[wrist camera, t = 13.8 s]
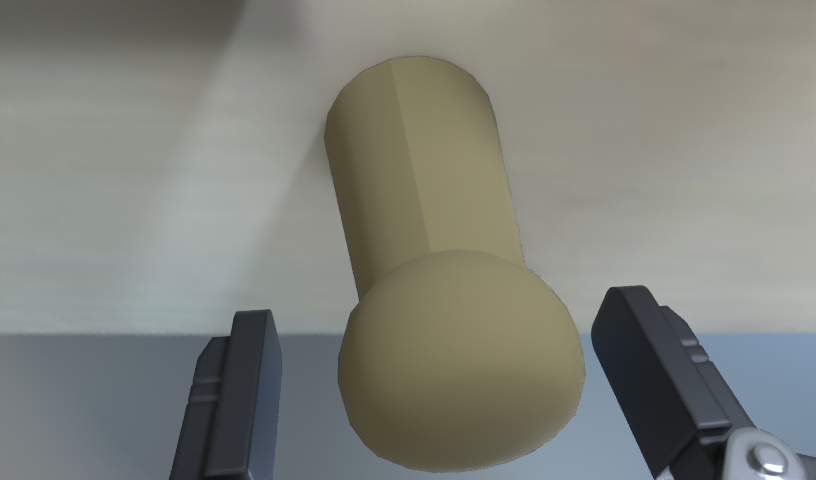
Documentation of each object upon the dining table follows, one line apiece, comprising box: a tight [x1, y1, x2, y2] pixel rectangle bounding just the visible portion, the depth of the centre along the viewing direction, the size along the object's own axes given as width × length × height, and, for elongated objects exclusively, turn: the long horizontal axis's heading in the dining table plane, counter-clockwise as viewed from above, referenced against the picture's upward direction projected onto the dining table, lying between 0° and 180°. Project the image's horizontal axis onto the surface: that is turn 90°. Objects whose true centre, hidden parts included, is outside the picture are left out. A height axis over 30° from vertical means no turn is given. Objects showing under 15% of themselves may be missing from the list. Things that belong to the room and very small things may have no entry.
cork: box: [324, 56, 586, 473], centre depth 14 cm, size 6×6×11 cm
